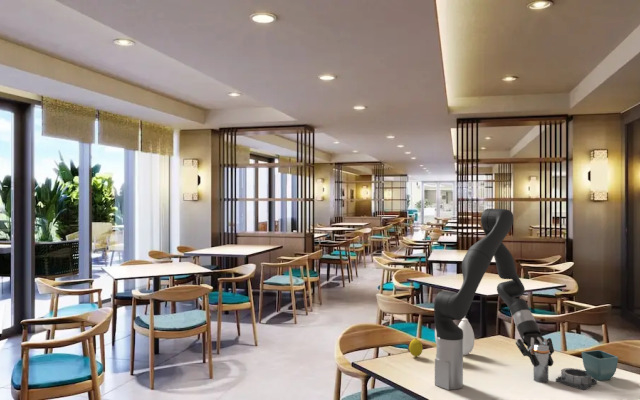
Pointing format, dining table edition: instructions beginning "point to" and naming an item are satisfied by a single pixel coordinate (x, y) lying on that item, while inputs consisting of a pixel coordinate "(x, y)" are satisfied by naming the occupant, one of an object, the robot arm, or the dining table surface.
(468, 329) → the sauce bottle
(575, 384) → the duct flange
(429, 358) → the dining table surface
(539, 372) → the grey travel mug
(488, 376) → the dining table surface
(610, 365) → the flower pot
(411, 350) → the lemon
